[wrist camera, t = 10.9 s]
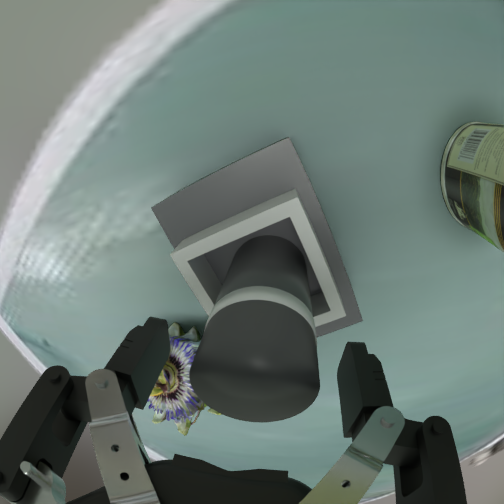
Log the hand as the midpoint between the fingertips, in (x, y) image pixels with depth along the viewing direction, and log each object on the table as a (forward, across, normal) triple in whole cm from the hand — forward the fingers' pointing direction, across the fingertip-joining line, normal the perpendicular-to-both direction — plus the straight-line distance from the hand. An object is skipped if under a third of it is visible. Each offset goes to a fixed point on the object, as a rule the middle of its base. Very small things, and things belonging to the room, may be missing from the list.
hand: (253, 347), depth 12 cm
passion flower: (+13, +7, +14) cm, 21 cm away
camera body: (+13, 0, 0) cm, 13 cm away
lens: (+8, 0, 0) cm, 8 cm away
